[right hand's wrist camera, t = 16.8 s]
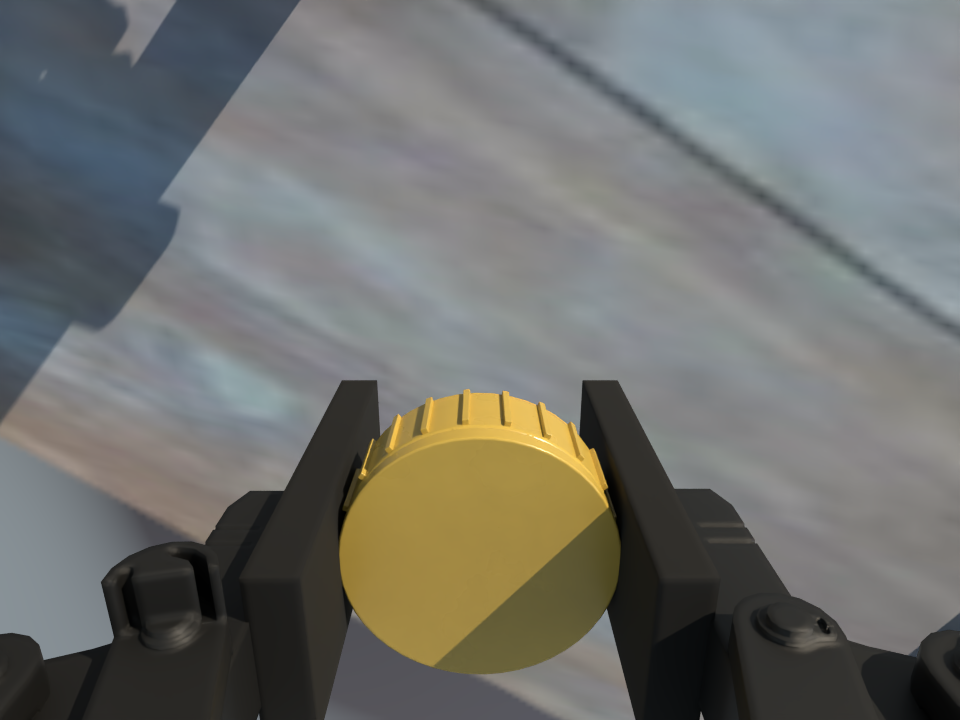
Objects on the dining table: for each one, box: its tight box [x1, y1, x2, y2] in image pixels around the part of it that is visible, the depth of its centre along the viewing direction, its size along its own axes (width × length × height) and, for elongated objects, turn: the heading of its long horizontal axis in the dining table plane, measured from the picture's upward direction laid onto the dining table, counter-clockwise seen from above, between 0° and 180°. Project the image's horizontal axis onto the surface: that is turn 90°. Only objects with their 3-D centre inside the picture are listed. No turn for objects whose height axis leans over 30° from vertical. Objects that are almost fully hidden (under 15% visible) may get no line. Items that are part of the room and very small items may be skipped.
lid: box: [339, 389, 621, 674], centre depth 11 cm, size 5×5×2 cm
